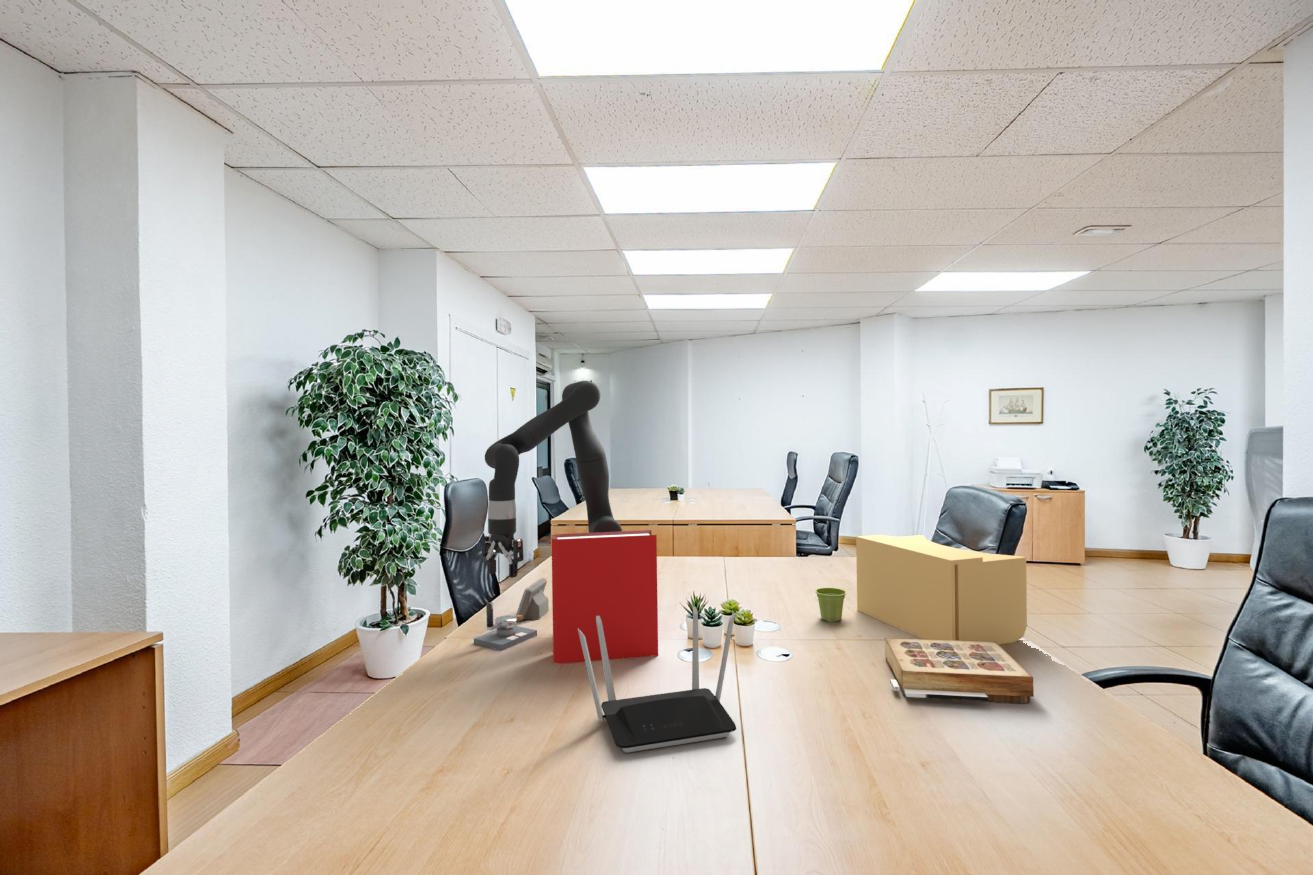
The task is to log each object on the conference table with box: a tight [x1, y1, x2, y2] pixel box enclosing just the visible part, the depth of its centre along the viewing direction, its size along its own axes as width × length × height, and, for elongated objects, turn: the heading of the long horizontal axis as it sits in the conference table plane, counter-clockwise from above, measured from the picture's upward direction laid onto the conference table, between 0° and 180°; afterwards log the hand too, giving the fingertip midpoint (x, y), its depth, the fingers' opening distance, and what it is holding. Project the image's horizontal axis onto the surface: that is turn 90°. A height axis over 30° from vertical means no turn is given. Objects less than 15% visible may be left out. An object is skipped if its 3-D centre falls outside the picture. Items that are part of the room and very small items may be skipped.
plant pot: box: [815, 587, 847, 622], centre depth 187 cm, size 9×9×9 cm
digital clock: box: [515, 577, 549, 622], centre depth 196 cm, size 16×9×11 cm, turn 160°
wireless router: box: [578, 606, 737, 754], centre depth 122 cm, size 34×23×20 cm
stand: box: [473, 625, 538, 651], centre depth 173 cm, size 11×14×4 cm
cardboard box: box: [855, 534, 1028, 646], centre depth 181 cm, size 40×26×24 cm, turn 18°
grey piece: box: [485, 601, 523, 632], centre depth 172 cm, size 6×13×8 cm, turn 149°
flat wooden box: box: [883, 637, 1035, 704], centre depth 139 cm, size 25×6×28 cm
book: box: [551, 529, 659, 665], centre depth 160 cm, size 27×8×32 cm, turn 100°
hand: (502, 575), depth 165 cm, fingers open, 8 cm apart
